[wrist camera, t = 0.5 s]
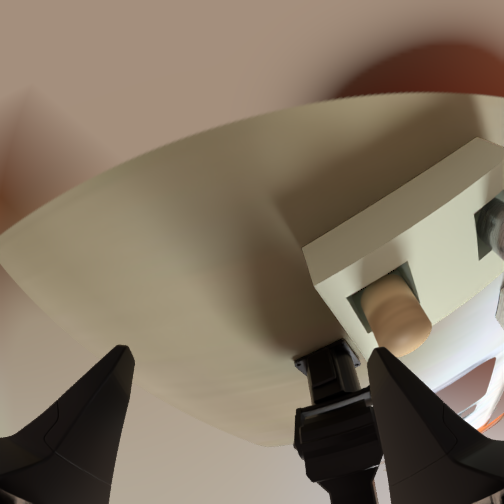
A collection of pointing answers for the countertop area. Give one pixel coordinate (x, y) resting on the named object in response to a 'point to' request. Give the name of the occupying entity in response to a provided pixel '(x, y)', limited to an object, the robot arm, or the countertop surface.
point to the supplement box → (501, 309)
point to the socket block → (414, 242)
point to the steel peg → (492, 226)
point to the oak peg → (395, 315)
